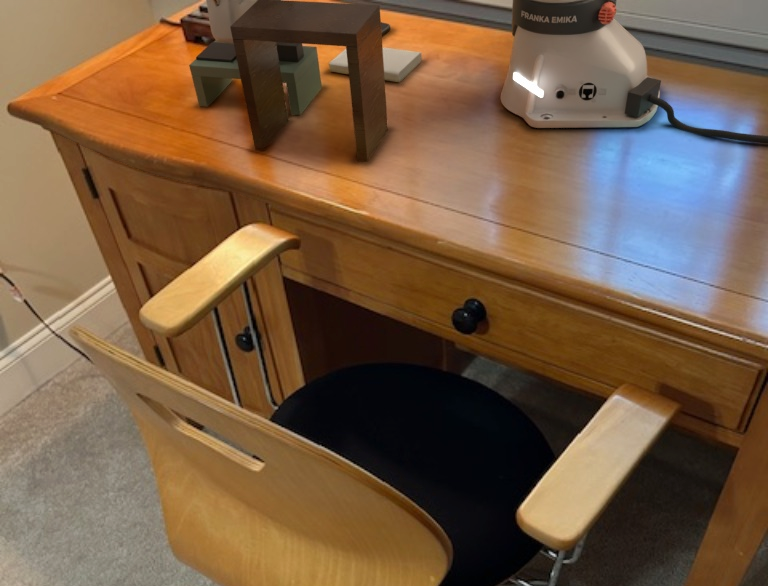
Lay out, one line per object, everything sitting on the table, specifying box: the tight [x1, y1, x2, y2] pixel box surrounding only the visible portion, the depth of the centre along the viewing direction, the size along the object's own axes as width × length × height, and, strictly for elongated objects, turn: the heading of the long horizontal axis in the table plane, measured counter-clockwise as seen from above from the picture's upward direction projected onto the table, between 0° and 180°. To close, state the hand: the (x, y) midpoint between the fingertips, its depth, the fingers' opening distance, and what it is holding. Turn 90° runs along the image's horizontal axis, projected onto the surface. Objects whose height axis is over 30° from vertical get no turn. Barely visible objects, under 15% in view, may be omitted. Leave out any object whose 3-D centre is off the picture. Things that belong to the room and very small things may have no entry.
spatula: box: [195, 41, 304, 63], centre depth 117 cm, size 16×6×2 cm, turn 71°
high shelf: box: [230, 0, 389, 163], centre depth 106 cm, size 17×9×16 cm, turn 71°
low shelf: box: [188, 40, 323, 116], centre depth 120 cm, size 17×9×6 cm, turn 71°
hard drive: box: [328, 46, 423, 83], centre depth 126 cm, size 2×8×12 cm
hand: (261, 50), depth 117 cm, fingers open, 4 cm apart
